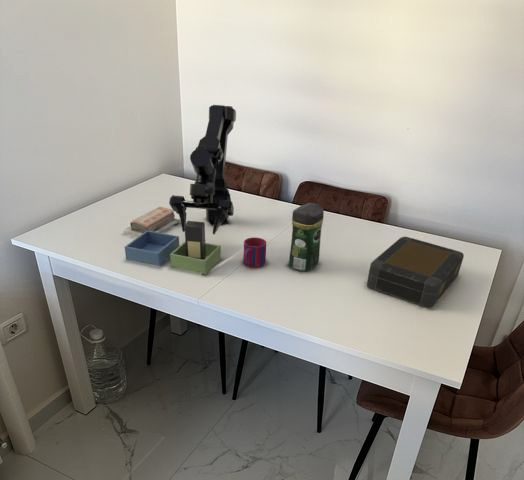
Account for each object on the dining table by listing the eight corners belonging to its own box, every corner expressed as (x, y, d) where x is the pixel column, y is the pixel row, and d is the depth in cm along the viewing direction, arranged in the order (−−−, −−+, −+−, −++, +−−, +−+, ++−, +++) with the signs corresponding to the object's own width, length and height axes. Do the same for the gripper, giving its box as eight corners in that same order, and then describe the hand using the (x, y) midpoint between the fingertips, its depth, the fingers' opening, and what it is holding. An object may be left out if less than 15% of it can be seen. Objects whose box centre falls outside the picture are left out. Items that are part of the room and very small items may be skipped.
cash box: (395, 256, 159) (400, 233, 154) (458, 275, 150) (466, 252, 145) (362, 287, 142) (366, 262, 137) (431, 310, 133) (438, 285, 128)
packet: (189, 258, 151) (187, 220, 144) (205, 259, 150) (204, 222, 143) (186, 264, 148) (184, 226, 140) (203, 265, 147) (201, 227, 140)
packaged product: (156, 203, 174) (179, 209, 171) (157, 216, 177) (180, 223, 174) (121, 220, 161) (146, 227, 158) (123, 234, 164) (147, 241, 161)
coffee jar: (299, 256, 156) (305, 198, 145) (322, 263, 153) (329, 204, 142) (283, 267, 150) (288, 207, 138) (306, 275, 146) (313, 214, 135)
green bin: (187, 253, 155) (187, 239, 152) (220, 259, 152) (220, 245, 150) (171, 268, 146) (169, 254, 144) (205, 275, 144) (205, 261, 141)
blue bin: (148, 243, 159) (146, 230, 157) (179, 249, 157) (178, 236, 154) (126, 260, 149) (124, 246, 146) (159, 267, 146) (158, 253, 144)
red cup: (269, 261, 152) (270, 241, 148) (251, 274, 145) (251, 252, 141) (251, 255, 155) (252, 235, 151) (232, 267, 148) (232, 246, 144)
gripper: (168, 168, 143) (160, 219, 141) (232, 172, 141) (225, 224, 139) (177, 186, 154) (170, 234, 152) (236, 190, 152) (230, 239, 150)
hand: (198, 232), depth 148 cm, fingers open, 9 cm apart
